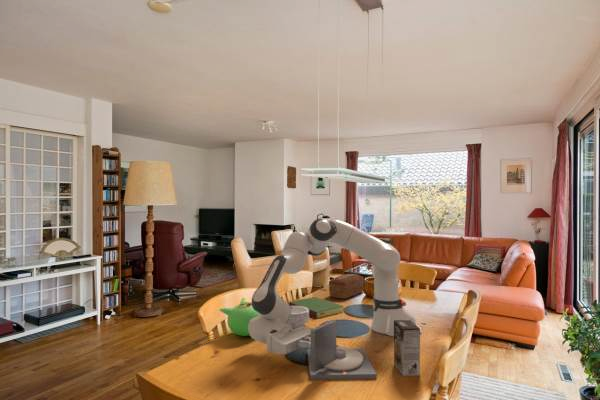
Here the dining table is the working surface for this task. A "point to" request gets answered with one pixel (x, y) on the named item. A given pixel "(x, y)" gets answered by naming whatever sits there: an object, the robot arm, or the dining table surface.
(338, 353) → the dial
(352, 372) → the dial board
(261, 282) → the robot arm
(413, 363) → the coffee box
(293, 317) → the paper bowls
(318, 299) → the hardcover book
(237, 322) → the green teapot
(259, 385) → the dining table surface
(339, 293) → the bread
